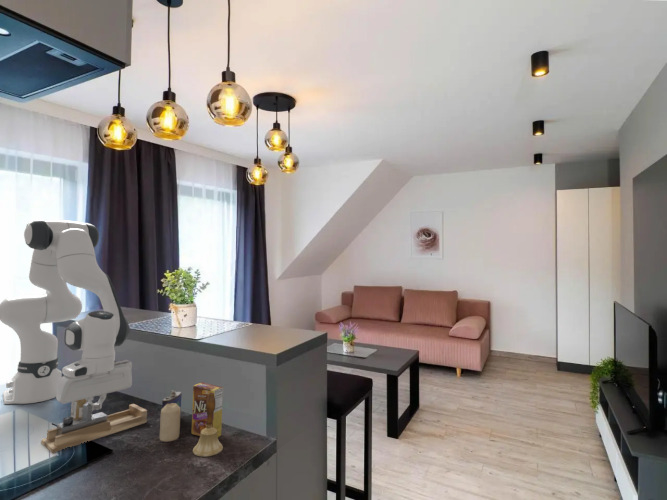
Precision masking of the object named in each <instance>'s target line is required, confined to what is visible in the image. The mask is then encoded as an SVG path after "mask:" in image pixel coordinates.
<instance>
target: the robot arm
mask: <svg viewBox="0 0 667 500" xmlns="http://www.w3.org/2000/svg"><path fill="white" fill-rule="evenodd" d="M23 236H24V237H23V238H24V242H25V244H26V245H27V246H28V247H29V248H30V249H33V251H32V255H31V256H32V257H31V262H30V267H29V273H28V274H29V275H28V278H29V281H30V283H31V284H32V285H34V286H35V287H38V288H40V289H43V290H45V294H44V293H43V294H31V295H29V294H28V295H27V294H26V295H25V294H24V295H17V296H12V297H7V298H5V299H4V300H2V301H1V302H0V322H1V323H3V324H4V325H6V326H8V327H9V328H11V329H12V330H13V331H14V332H15V334H17V336H18V339H19V343H20V361H19V362H18V364H17V370H16V371H17V372H16V373H15V374H14V376H12V378H11V380H10V381H7V382H6V383H5V384H6V390H3V392H2V397H3V403H4V405H14V404H15V405H18V404H19V405H23V404H24V405H26V404H34V403H40V402H46V401H49V400H52V399H55V398H56V401H58V403H60V404H61V405H62V404H63V405H65V404H69V403H71V402H74V401H78V400H82V399H86V401H87V402H88V404H90V405H91V406H92V412H95V411H98V410H101V409H102V407H103V402H104V401H105V400H106V398H107V394H110V393H115V392H118V391H122V390H128V389H130V388H131V387H132V385H133V376H132V375H133V373H132V369H133V363H132V361H131V360H128V359H123V360H116V350H115V347H120V346H122V345H123V343H125V342H126V341H127V340H128V338H129V336H130V334H131V332H130V331H131V329H130V325H129V322H128V320H127V318H126V317H125V315H124V313H123V310H122V307H121V304H120V301H119V298H118V295H117V292H116V290H115V287H114V284H113V282H112V280H111V278H110V276H109V275H108V273H105V272H104V271H103V270H102V269H101V267H100V266H99V264H98V261H97V257H96V252H95V247H97V245H98V244H99V239H100V235H99V230H98V228H97V227H96V226H95V225H93V224H91V223H88V222H79V221H73V220H54V219H53V220H50V219H48V220H44V219H35V220H31V221H29V222H28V224H26V226H25V228H24V232H23ZM68 285H71V286H73V287H76V288H80V289H83V290H87V291H89V292H91V293H93V294H95V295H96V296H97V298H99V301H100V304H101V307H102V310H96V311H95V310H94V311H91V312H89V313H87V314H86V315H85V317H84V318H82V319H79V320H76V321H73V322H71V323H70V324H68V326H67V327H66V328H65V330H64V331H65V332H64V344H65V346H66V347H68V348H69V349H70V350H72V351H82V354H81V359H78V360H77V361H74V362H72V363H70V364H67V365H65V366H63V367H62V369H61V370H60V369H58V367H59V358H58V345H59V340H58V337H57V336H56V335H55V334H53V333H51V332H49V331H45V330H42V329H41V325H42V324H49V323H50V324H51V323H52V324H53V323H62V322H67V321H71V320H74V319H77V318H78V316H80V314H81V312H82V308H83V305H82V304H83V303H82V300H81V299H80V298H79V297H78V296H77V295H76V294H74V293H72V291H71V290H70V289H69V287H68ZM115 360H116V361H115ZM62 374H63V375H62ZM95 397H99V399H98V401H97V402H95V403H94V402H93V400H94V398H95Z"/></svg>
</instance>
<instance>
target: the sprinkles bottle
mask: <svg viewBox="0 0 667 500" xmlns="http://www.w3.org/2000/svg"><path fill="white" fill-rule="evenodd" d="M70 403H71V404H70V406H71V408H70V417H73V420H74V419H78V418H82V413H83V404H86V403H88V402H87V401H86V399H82V400H78V401H74V402H70Z"/></svg>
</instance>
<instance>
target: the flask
mask: <svg viewBox="0 0 667 500" xmlns="http://www.w3.org/2000/svg"><path fill="white" fill-rule="evenodd" d="M171 403H176V404H177V405H178V406H179V407H180V408H181V410H180V419H181V414H182V412H181V411H182V391H177V390H173V389H172V390H171V393H170V395H169V396H165V397H164V398H163V399H162V400H161V405H162V406H161V409H162V408H163V407H164V406H165V405H166V404H171Z"/></svg>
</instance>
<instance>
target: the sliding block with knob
mask: <svg viewBox="0 0 667 500" xmlns="http://www.w3.org/2000/svg"><path fill="white" fill-rule="evenodd" d="M107 417H108V414H106V413H104V412H103V411H101V412H97V413H94V414H93V411H92V406H91V405H90V404H88V403H86V404H83V413H82V418H78V419H74V420H73V417H71V416H66V417H64V418H63V419H62V422H60V423H57V424H56V428H57V433H56V436H58V435H62V434H65V433H69V432H72V431H75V430H79V429H82V428H85V427H89V426H92V425H96V424H99V423H102V422H106V421H107Z"/></svg>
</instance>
